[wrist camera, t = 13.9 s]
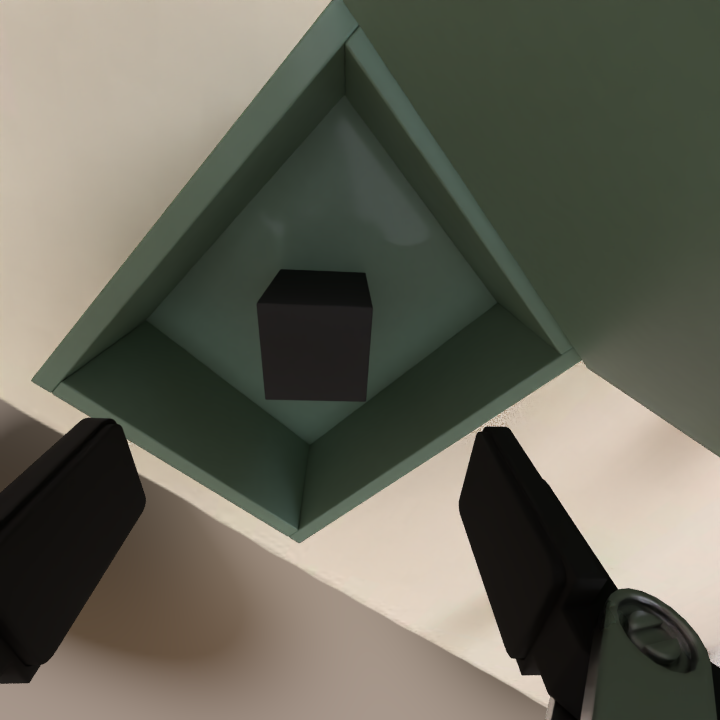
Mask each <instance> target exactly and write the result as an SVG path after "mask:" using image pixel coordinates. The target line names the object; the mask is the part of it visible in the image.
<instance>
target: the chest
mask: <svg viewBox="0 0 720 720" xmlns="http://www.w3.org/2000/svg"><path fill="white" fill-rule="evenodd" d="M280 269H291V270H315V271H338V272H361V273H366V277H367V282H368V287H369V292H370V296H371V301H372V306H373V315H372V329H371V343H370V356H369V370H368V384H367V397H366V402H347V401H300V400H266V399H265V392H264V381H263V370H262V359H261V349H260V338H259V327H258V316H257V306H256V304H257V302H258V300H259V299H260V297H261V296H262V295H263V293H264V292H265V290H266V289H267V287H268V286H269V285H270V283H271V282H272V280H273V279H274V277H275V276H276V275H277V273H278V272H279V270H280ZM581 360H582V359H581V358H580V356H579V355H578V353H577V352H576V350H575V349H574V347H573V346H572V344H571V343H570V341H569V340H568V338H567V337H566V335H565V334H564V332H563V331H562V329H561V328H560V326H559V325H558V323H557V322H556V320H555V319H554V317H553V316H552V314H551V313H550V311H549V310H548V308H547V307H546V305H545V304H544V302H543V301H542V299H541V298H540V296H539V295H538V293H537V292H536V290H535V289H534V287H533V286H532V284H531V283H530V281H529V280H528V278H527V277H526V275H525V273H524V272H523V270H522V269H521V267H520V266H519V264H518V263H517V261H516V260H515V258H514V257H513V255H512V254H511V252H510V251H509V249H508V248H507V246H506V245H505V243H504V242H503V240H502V239H501V237H500V236H499V234H498V233H497V231H496V230H495V228H494V227H493V225H492V224H491V222H490V221H489V219H488V218H487V216H486V215H485V213H484V212H483V210H482V209H481V207H480V206H479V204H478V203H477V201H476V200H475V198H474V197H473V195H472V194H471V192H470V191H469V189H468V188H467V186H466V185H465V183H464V182H463V180H462V179H461V177H460V176H459V174H458V173H457V171H456V170H455V168H454V167H453V165H452V164H451V162H450V161H449V159H448V158H447V156H446V155H445V153H444V152H443V150H442V149H441V147H440V146H439V144H438V143H437V141H436V140H435V138H434V137H433V135H432V134H431V132H430V131H429V129H428V128H427V126H426V125H425V123H424V122H423V120H422V119H421V117H420V116H419V114H418V113H417V111H416V110H415V108H414V107H413V105H412V104H411V102H410V101H409V99H408V98H407V96H406V95H405V93H404V92H403V90H402V89H401V87H400V86H399V84H398V83H397V81H396V80H395V78H394V77H393V75H392V74H391V72H390V71H389V69H388V68H387V66H386V65H385V63H384V62H383V60H382V59H381V57H380V56H379V54H378V53H377V51H376V50H375V48H374V47H373V45H372V44H371V42H370V41H369V39H368V38H367V36H366V35H365V33H364V32H363V30H362V29H361V27H360V26H359V24H358V23H357V21H356V20H355V18H354V17H353V15H352V14H351V12H350V11H349V9H348V8H347V6H346V5H345V3H344V2H343V0H332V1H331V2H330V3H329V4H328V6H327V7H326V8H325V10H324V11H323V12H322V13H321V15H320V16H319V17H318V18H317V20H316V21H315V22H314V23H313V25H312V26H311V27H310V28H309V30H308V31H307V32H306V34H305V35H304V36H303V37H302V39H301V40H300V41H299V42H298V44H297V45H296V46H295V47H294V49H293V50H292V51H291V52H290V54H289V55H288V56H287V58H286V59H285V60H284V61H283V63H282V64H281V65H280V66H279V68H278V69H277V70H276V71H275V73H274V74H273V75H272V76H271V78H270V79H269V80H268V82H267V83H266V84H265V85H264V87H263V88H262V89H261V90H260V92H259V93H258V94H257V95H256V97H255V98H254V99H253V100H252V102H251V103H250V104H249V106H248V107H247V108H246V109H245V111H244V112H243V113H242V114H241V116H240V117H239V118H238V119H237V121H236V122H235V123H234V124H233V126H232V127H231V128H230V130H229V131H228V132H227V133H226V135H225V136H224V137H223V138H222V140H221V141H220V142H219V143H218V145H217V146H216V147H215V148H214V150H213V151H212V152H211V154H210V155H209V156H208V157H207V159H206V160H205V161H204V162H203V164H202V165H201V166H200V167H199V169H198V170H197V171H196V172H195V174H194V175H193V176H192V178H191V179H190V180H189V181H188V183H187V184H186V185H185V186H184V188H183V189H182V190H181V191H180V193H179V194H178V195H177V196H176V198H175V199H174V200H173V202H172V203H171V204H170V205H169V207H168V208H167V209H166V210H165V212H164V213H163V214H162V215H161V217H160V218H159V219H158V220H157V222H156V223H155V224H154V226H153V227H152V228H151V229H150V231H149V232H148V233H147V234H146V236H145V237H144V238H143V239H142V241H141V242H140V243H139V244H138V246H137V247H136V248H135V250H134V251H133V252H132V253H131V255H130V256H129V257H128V258H127V260H126V261H125V262H124V263H123V265H122V266H121V267H120V268H119V270H118V271H117V272H116V274H115V275H114V276H113V277H112V279H111V280H110V281H109V282H108V284H107V285H106V286H105V287H104V289H103V290H102V291H101V292H100V294H99V295H98V296H97V298H96V299H95V300H94V301H93V303H92V304H91V305H90V306H89V308H88V309H87V310H86V311H85V313H84V314H83V315H82V316H81V318H80V319H79V320H78V322H77V323H76V324H75V325H74V327H73V328H72V329H71V330H70V332H69V333H68V334H67V335H66V337H65V338H64V339H63V340H62V342H61V343H60V344H59V346H58V347H57V348H56V349H55V351H54V352H53V353H52V354H51V356H50V357H49V358H48V359H47V361H46V362H45V363H44V364H43V366H42V367H41V368H40V370H39V371H38V372H37V373H36V375H35V376H34V377H33V378H32V380H31V381H32V382H34V383H35V384H37V385H39V386H40V387H42V388H43V389H45V390H47V391H48V392H52V394H53V395H55V396H57V397H58V398H60V399H62V400H63V401H65V402H67V403H68V404H70V405H72V406H73V407H75V408H77V409H78V410H80V411H81V412H83V413H85V414H86V415H88V416H90V417H91V418H111V419H114V420H115V421H116V423H117V424H119V425H121V426H122V428H123V430H124V433H125V436H126V439H128V440H129V441H131V442H133V443H134V444H136V445H138V446H139V447H141V448H143V449H144V450H146V451H147V452H149V453H151V454H152V455H154V456H156V457H157V458H159V459H161V460H162V461H164V462H166V463H167V464H169V465H171V466H172V467H174V468H176V469H177V470H179V471H181V472H182V473H184V474H185V475H187V476H189V477H190V478H192V479H194V480H195V481H197V482H199V483H200V484H202V485H204V486H205V487H207V488H209V489H210V490H212V491H214V492H215V493H217V494H218V495H220V496H222V497H223V498H225V499H227V500H228V501H230V502H232V503H233V504H235V505H237V506H238V507H240V508H242V509H243V510H245V511H247V512H248V513H250V514H252V515H253V516H255V517H256V518H258V519H260V520H261V521H263V522H265V523H266V524H268V525H270V526H271V527H273V528H275V529H276V530H278V531H280V532H281V533H283V534H285V535H286V536H289V537H290V538H291V539H293V540H295V541H296V542H298V543H301V542H302V541H304V540H305V539H307V538H308V537H310V536H312V535H313V534H315V533H316V532H318V531H319V530H321V529H322V528H324V527H325V526H327V525H328V524H330V523H332V522H333V521H335V520H336V519H338V518H339V517H341V516H342V515H344V514H345V513H347V512H349V511H350V510H352V509H353V508H355V507H356V506H358V505H359V504H361V503H362V502H364V501H365V500H367V499H369V498H370V497H372V496H373V495H375V494H376V493H378V492H379V491H381V490H382V489H384V488H386V487H387V486H389V485H390V484H392V483H393V482H395V481H396V480H398V479H399V478H401V477H402V476H404V475H406V474H407V473H409V472H410V471H412V470H413V469H415V468H416V467H418V466H419V465H421V464H423V463H424V462H426V461H427V460H429V459H430V458H432V457H433V456H435V455H436V454H438V453H440V452H441V451H443V450H444V449H446V448H447V447H449V446H450V445H452V444H453V443H455V442H456V441H458V440H460V439H461V438H463V437H464V436H466V435H467V434H469V433H470V432H472V431H473V430H475V429H477V428H478V427H480V426H481V425H483V424H484V423H486V422H487V421H489V420H490V419H492V418H493V417H495V416H497V415H498V414H500V413H501V412H503V411H504V410H506V409H507V408H509V407H510V406H512V405H514V404H515V403H517V402H518V401H520V400H521V399H523V398H524V397H526V396H527V395H529V394H530V393H532V392H534V391H535V390H537V389H538V388H540V387H541V386H543V385H544V384H546V383H547V382H549V381H551V380H552V379H554V378H555V377H557V376H558V375H560V374H561V373H563V372H564V371H566V370H567V369H569V368H571V367H572V366H574V365H575V364H577V363H578V362H580V361H581Z"/></svg>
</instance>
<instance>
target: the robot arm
mask: <svg viewBox="0 0 720 720" xmlns="http://www.w3.org/2000/svg"><path fill="white" fill-rule="evenodd" d="M145 503H146V498H145V494H144V491H143V488H142V485H141V482H140V479H139V476H138V473H137V470H136V467H135V464H134V461H133V457H132V454H131V451H130V448H129V445H128V442H127V439H126V436H125V433H124V430H123V428H122V426H121V425H119V424H117V423H116V421H115V420H114V419H111V418H85V419H83V420H81V421H80V422H79V423H78V424H77V425H75V426H74V427H73V428H72V429H71V430H70V431H69V432H68V433H67V434H65V435H64V436H63V437H62V438H61V439H60V440H59V441H58V442H56V443H55V444H54V445H53V446H52V447H51V448H50V449H49V450H48V451H46V452H45V453H44V454H43V455H42V456H41V457H40V458H39V459H37V460H36V461H35V462H34V463H33V464H32V465H31V466H30V467H29V468H28V469H26V470H25V471H24V472H23V473H22V474H21V475H20V476H18V477H17V478H16V479H15V480H14V481H13V482H12V483H11V484H10V485H8V486H7V487H6V488H5V489H4V490H3V491H2V492H1V493H0V683H1V684H5V683H6V684H8V683H30V681H31V679H32V678H33V676H34V675H35V673H36V672H37V670H38V668H39V667H40V665H41V664H44V663H46V662H47V661H48V660H49V659H50V658H51V657H52V656H53V655H54V653H55V651H56V650H57V649H58V647H59V645H60V644H61V642H62V641H63V639H64V637H65V636H66V634H67V632H68V631H69V629H70V628H71V626H72V624H73V623H74V621H75V619H76V618H77V616H78V615H79V613H80V611H81V610H82V608H83V607H84V605H85V604H86V602H87V600H88V599H89V597H90V596H91V594H92V592H93V591H94V589H95V587H96V586H97V584H98V583H99V581H100V579H101V578H102V576H103V575H104V573H105V571H106V570H107V568H108V567H109V565H110V563H111V562H112V560H113V559H114V557H115V555H116V554H117V552H118V550H119V549H120V547H121V546H122V544H123V542H124V541H125V539H126V538H127V536H128V534H129V533H130V531H131V530H132V528H133V526H134V525H135V523H136V521H137V520H138V518H139V517H140V515H141V514H142V512H143V510H144V507H145ZM459 511H460V515H461V518H462V521H463V524H464V527H465V530H466V533H467V536H468V539H469V542H470V545H471V548H472V551H473V554H474V557H475V560H476V563H477V566H478V569H479V572H480V575H481V578H482V581H483V584H484V587H485V590H486V592H487V595H488V598H489V601H490V604H491V607H492V610H493V613H494V616H495V619H496V622H497V625H498V628H499V631H500V634H501V637H502V640H503V643H504V646H505V648H506V651H507V653H508V655H509V656H510V657H511V658H513V659H516V660H517V663H518V666H519V669H520V672H521V675H541V677H542V679H543V682H544V684H545V687H546V689H547V692H548V694H549V695H550V699H549V704H548V708H547V713H546V717H545V720H720V668H719V667H718V666H716V665H715V664H713V663H712V662H710V659H709V656H708V652H707V650H706V648H705V646H704V645H703V643H702V641H701V639H700V638H699V636H698V634H697V633H696V632H695V631H694V630H693V629H692V627H691V626H690V625H689V624H688V623H687V621H686V620H685V619H684V618H682V617H681V616H680V615H679V614H678V613H677V612H676V611H675V610H673V609H672V608H671V607H670V606H668V605H667V604H665V603H664V602H662V601H661V600H659V599H658V598H656V597H654V596H651V595H649V594H647V593H645V592H643V591H639V590H634V589H630V588H627V589H617V587H616V586H615V584H614V583H613V581H612V580H611V578H610V577H609V575H608V574H607V572H606V571H605V569H604V568H603V566H602V565H601V563H600V561H599V560H598V558H597V557H596V555H595V554H594V552H593V551H592V549H591V548H590V546H589V545H588V543H587V542H586V540H585V539H584V537H583V536H582V534H581V533H580V531H579V530H578V528H577V527H576V525H575V524H574V522H573V521H572V519H571V518H570V516H569V515H568V513H567V512H566V510H565V509H564V507H563V506H562V504H561V503H560V501H559V500H558V498H557V497H556V495H555V494H554V492H553V491H552V489H551V487H550V486H549V485H548V484H547V482H546V481H545V480H543V479H542V477H541V476H540V474H539V473H538V471H537V470H536V468H535V467H534V465H533V464H532V462H531V461H530V459H529V458H528V456H527V454H526V453H525V451H524V450H523V448H522V447H521V445H520V444H519V442H518V441H517V439H516V438H515V436H514V435H513V433H512V432H511V430H510V429H509V428H507V427H485V428H484V429H483V431H482V432H478V433H477V435H476V438H475V442H474V446H473V449H472V453H471V457H470V461H469V465H468V468H467V472H466V476H465V480H464V484H463V488H462V491H461V495H460V499H459Z"/></svg>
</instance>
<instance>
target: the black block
mask: <svg viewBox="0 0 720 720" xmlns="http://www.w3.org/2000/svg"><path fill="white" fill-rule="evenodd" d="M256 306H257V316H258V327H259V338H260V349H261V359H262V370H263V381H264V392H265V399H266V400H300V401H347V402H366V397H367V384H368V370H369V356H370V343H371V329H372V315H373V306H372V301H371V296H370V292H369V287H368V282H367V277H366V273H361V272H338V271H315V270H291V269H280V270H279V272H278V273H277V275H276V276H275V277H274V279H273V280H272V282H271V283H270V285H269V286H268V287H267V289H266V290H265V292H264V293H263V295H262V296H261V297H260V299H259V300H258V302H257V304H256Z"/></svg>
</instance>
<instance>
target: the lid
mask: <svg viewBox="0 0 720 720" xmlns="http://www.w3.org/2000/svg"><path fill="white" fill-rule="evenodd" d="M343 2H344V3H345V5H346V6H347V8H348V9H349V11H350V12H351V14H352V15H353V17H354V18H355V20H356V21H357V23H358V24H359V26H360V27H361V29H362V30H363V32H364V33H365V35H366V36H367V38H368V39H369V41H370V42H371V44H372V45H373V47H374V48H375V50H376V51H377V53H378V54H379V56H380V57H381V59H382V60H383V62H384V63H385V65H386V66H387V68H388V69H389V71H390V72H391V74H392V75H393V77H394V78H395V80H396V81H397V83H398V84H399V86H400V87H401V89H402V90H403V92H404V93H405V95H406V96H407V98H408V99H409V101H410V102H411V104H412V105H413V107H414V108H415V110H416V111H417V113H418V114H419V116H420V117H421V119H422V120H423V122H424V123H425V125H426V126H427V128H428V129H429V131H430V132H431V134H432V135H433V137H434V138H435V140H436V141H437V143H438V144H439V146H440V147H441V149H442V150H443V152H444V153H445V155H446V156H447V158H448V159H449V161H450V162H451V164H452V165H453V167H454V168H455V170H456V171H457V173H458V174H459V176H460V177H461V179H462V180H463V182H464V183H465V185H466V186H467V188H468V189H469V191H470V192H471V194H472V195H473V197H474V198H475V200H476V201H477V203H478V204H479V206H480V207H481V209H482V210H483V212H484V213H485V215H486V216H487V218H488V219H489V221H490V222H491V224H492V225H493V227H494V228H495V230H496V231H497V233H498V234H499V236H500V237H501V239H502V240H503V242H504V243H505V245H506V246H507V248H508V249H509V251H510V252H511V254H512V255H513V257H514V258H515V260H516V261H517V263H518V264H519V266H520V267H521V269H522V270H523V272H524V273H525V275H526V277H527V278H528V280H529V281H530V283H531V284H532V286H533V287H534V289H535V290H536V292H537V293H538V295H539V296H540V298H541V299H542V301H543V302H544V304H545V305H546V307H547V308H548V310H549V311H550V313H551V314H552V316H553V317H554V319H555V320H556V322H557V323H558V325H559V326H560V328H561V329H562V331H563V332H564V334H565V335H566V337H567V338H568V340H569V341H570V343H571V344H572V346H573V347H574V349H575V350H576V352H577V353H578V355H579V356H580V358H581V359H582V361H583V362H584V364H585V365H586V367H587V368H588V369H590V370H591V371H592V372H594V373H595V374H597V375H598V376H600V377H601V378H603V379H604V380H606V381H607V382H609V383H610V384H612V385H613V386H615V387H616V388H618V389H619V390H621V391H622V392H624V393H625V394H627V395H628V396H630V397H631V398H633V399H634V400H636V401H637V402H638V403H640V404H641V405H643V406H644V407H646V408H647V409H649V410H650V411H652V412H653V413H655V414H656V415H658V416H659V417H661V418H662V419H664V420H665V421H667V422H668V423H670V424H671V425H673V426H674V427H676V428H677V429H679V430H680V431H682V432H683V433H684V434H686V435H687V436H689V437H690V438H692V439H693V440H695V441H696V442H698V443H699V444H701V445H702V446H704V447H705V448H707V449H708V450H710V451H711V452H713V453H714V454H716V455H717V456H719V457H720V0H343Z"/></svg>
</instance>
